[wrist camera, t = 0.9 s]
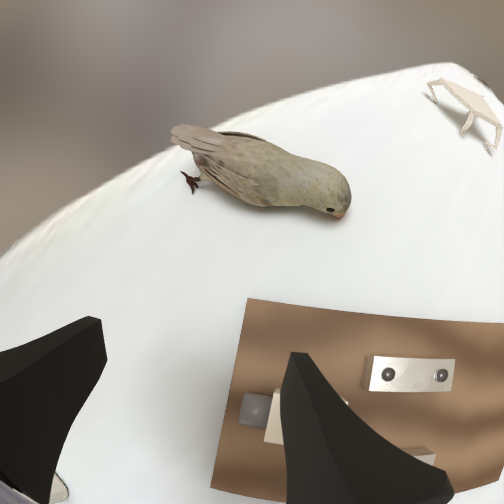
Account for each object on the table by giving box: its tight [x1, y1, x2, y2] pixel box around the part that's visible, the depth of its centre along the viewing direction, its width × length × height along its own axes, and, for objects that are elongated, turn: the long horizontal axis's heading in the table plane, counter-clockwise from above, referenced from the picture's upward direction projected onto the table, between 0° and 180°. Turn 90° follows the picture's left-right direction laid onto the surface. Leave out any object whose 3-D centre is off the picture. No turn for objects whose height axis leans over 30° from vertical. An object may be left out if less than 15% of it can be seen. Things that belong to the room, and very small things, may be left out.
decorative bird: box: [171, 124, 351, 217], centre depth 24 cm, size 5×16×8 cm, turn 68°
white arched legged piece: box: [427, 78, 504, 151], centre depth 26 cm, size 12×8×5 cm
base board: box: [210, 298, 504, 503], centre depth 18 cm, size 17×29×1 cm, turn 79°
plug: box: [238, 388, 348, 445], centre depth 18 cm, size 8×4×3 cm, turn 79°
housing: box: [361, 356, 455, 466], centre depth 16 cm, size 10×7×3 cm
